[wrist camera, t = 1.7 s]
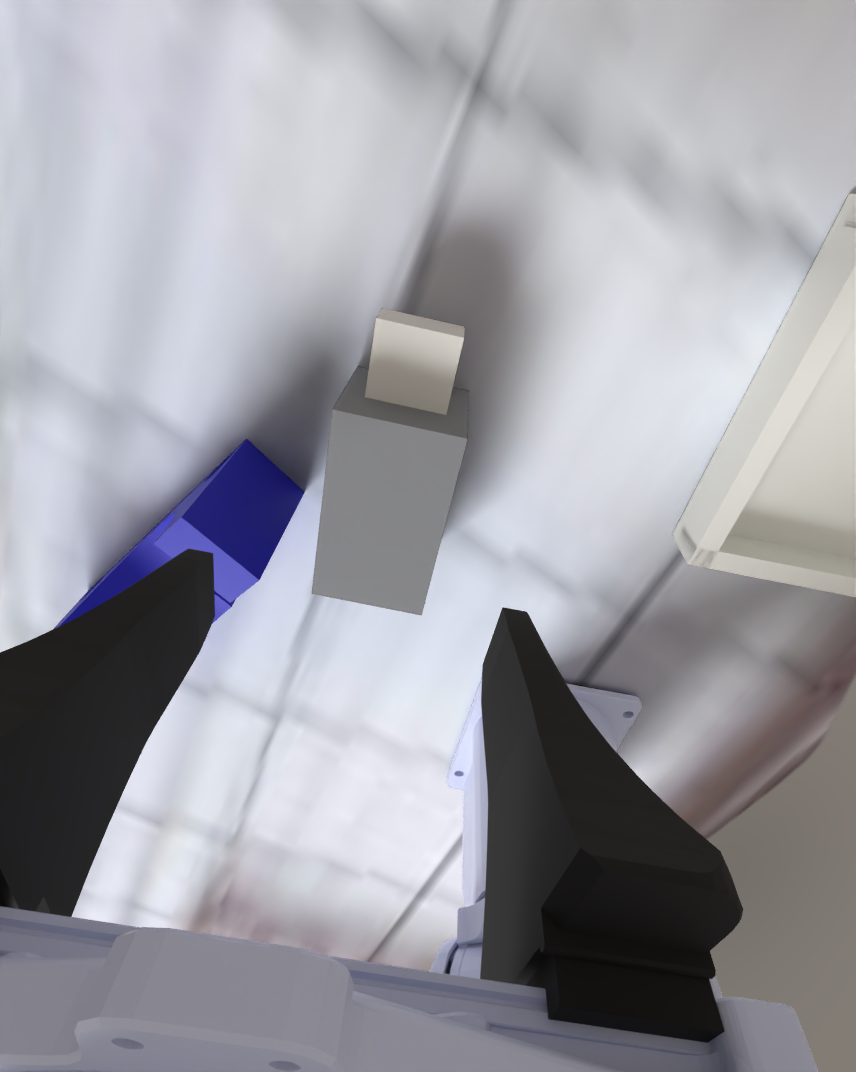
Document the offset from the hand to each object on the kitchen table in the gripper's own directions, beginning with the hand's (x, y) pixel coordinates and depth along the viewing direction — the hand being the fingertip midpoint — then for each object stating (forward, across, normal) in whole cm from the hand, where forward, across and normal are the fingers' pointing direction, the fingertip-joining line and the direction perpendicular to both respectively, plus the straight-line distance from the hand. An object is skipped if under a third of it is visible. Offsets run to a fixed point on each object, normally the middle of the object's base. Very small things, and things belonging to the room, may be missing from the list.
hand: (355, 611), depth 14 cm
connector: (+9, 0, -1) cm, 9 cm away
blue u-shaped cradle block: (+9, +8, +7) cm, 14 cm away
